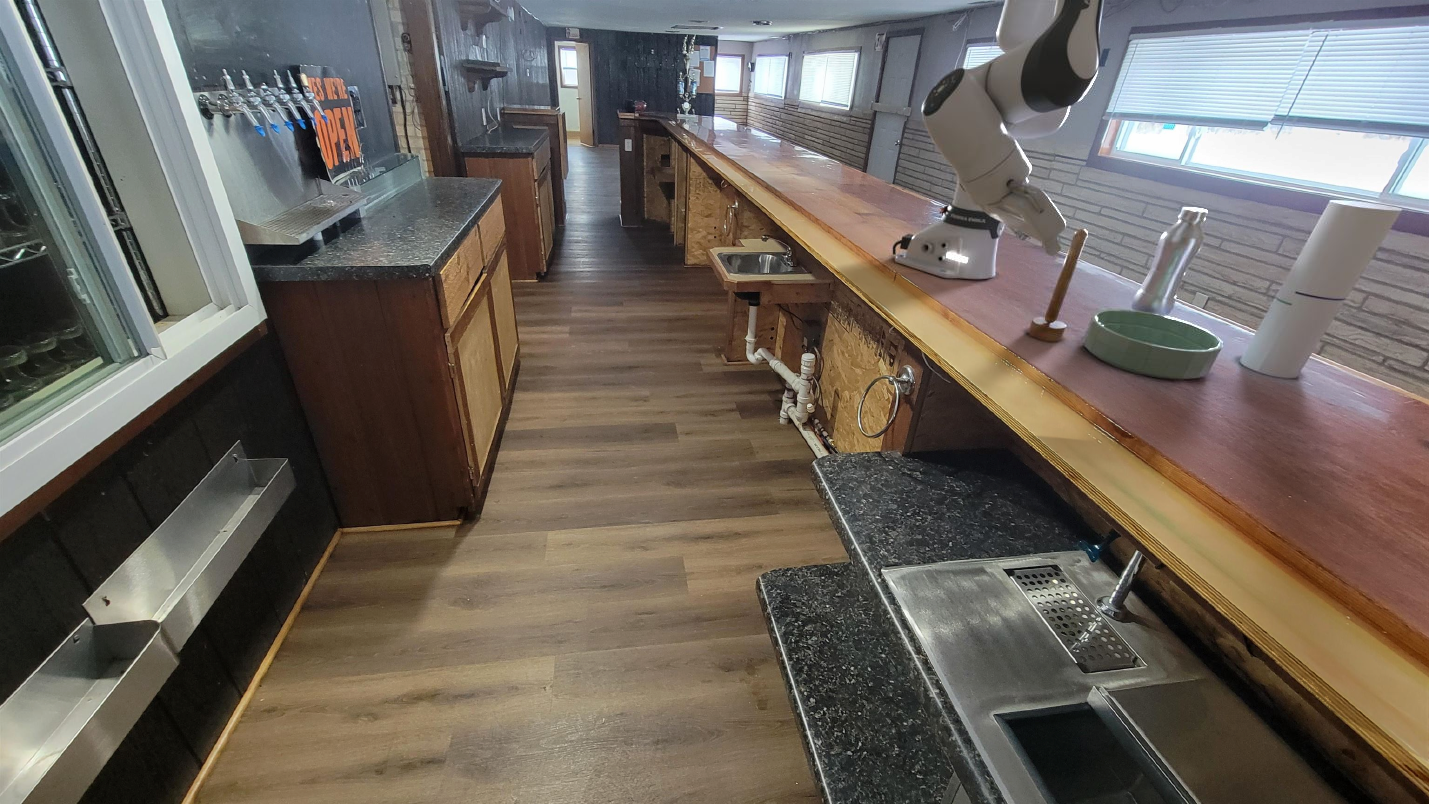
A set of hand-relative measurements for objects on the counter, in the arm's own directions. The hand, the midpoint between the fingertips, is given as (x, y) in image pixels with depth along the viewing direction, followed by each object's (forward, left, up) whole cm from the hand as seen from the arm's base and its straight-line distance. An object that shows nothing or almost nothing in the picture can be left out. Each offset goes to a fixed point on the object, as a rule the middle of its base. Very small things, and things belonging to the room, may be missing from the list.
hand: (1039, 244), depth 90 cm
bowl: (+18, +7, -16) cm, 25 cm away
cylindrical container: (+33, +19, -16) cm, 42 cm away
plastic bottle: (+14, +31, -16) cm, 38 cm away
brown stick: (+4, +4, -16) cm, 17 cm away
